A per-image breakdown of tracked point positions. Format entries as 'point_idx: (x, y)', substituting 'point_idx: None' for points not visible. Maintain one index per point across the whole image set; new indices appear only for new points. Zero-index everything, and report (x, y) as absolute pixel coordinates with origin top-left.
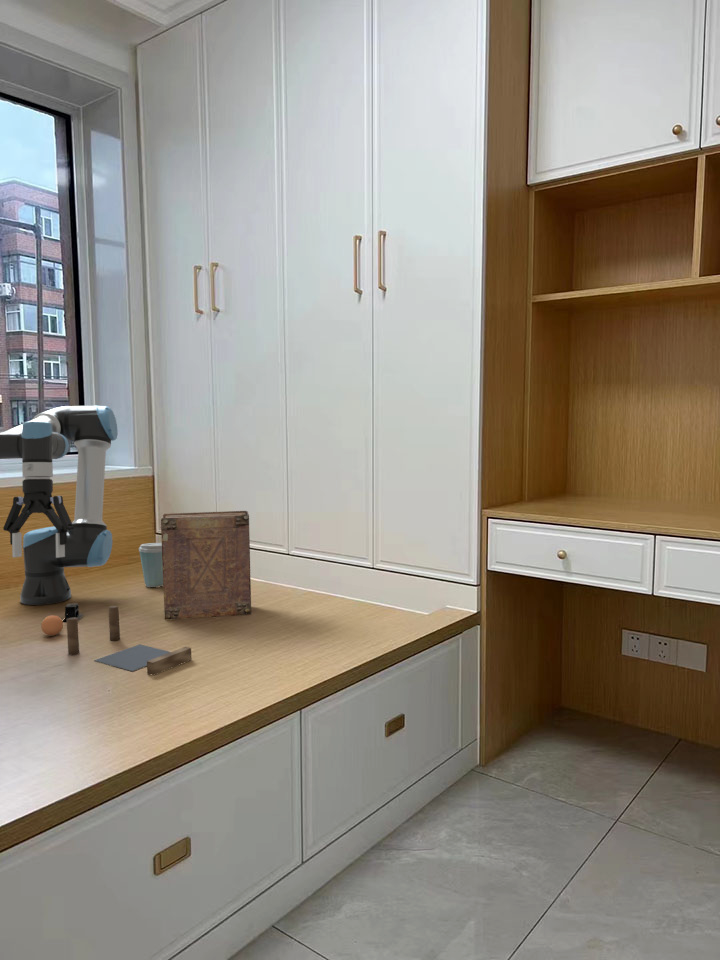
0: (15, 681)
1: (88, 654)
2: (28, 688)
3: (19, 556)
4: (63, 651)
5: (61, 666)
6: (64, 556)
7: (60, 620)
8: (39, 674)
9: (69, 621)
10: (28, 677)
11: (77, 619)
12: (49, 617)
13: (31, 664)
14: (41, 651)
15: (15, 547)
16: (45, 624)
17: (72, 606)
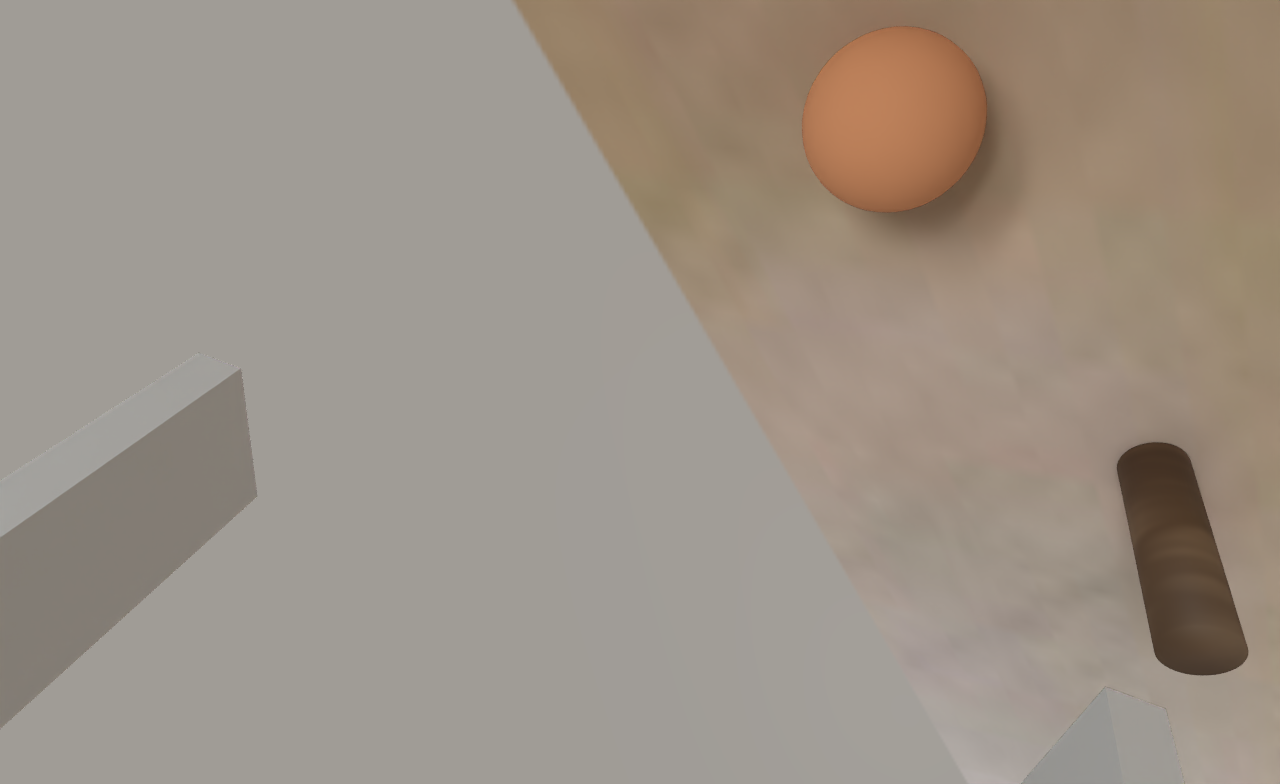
0: (936, 684)
1: (1258, 489)
2: (1014, 743)
3: (245, 417)
4: (1073, 420)
5: (1109, 603)
6: (1159, 719)
7: (971, 144)
8: (1019, 654)
9: (1181, 665)
10: (978, 667)
11: (1246, 649)
12: (874, 185)
13: (938, 553)
14: (927, 400)
15: (129, 594)
16: (857, 207)
17: None
